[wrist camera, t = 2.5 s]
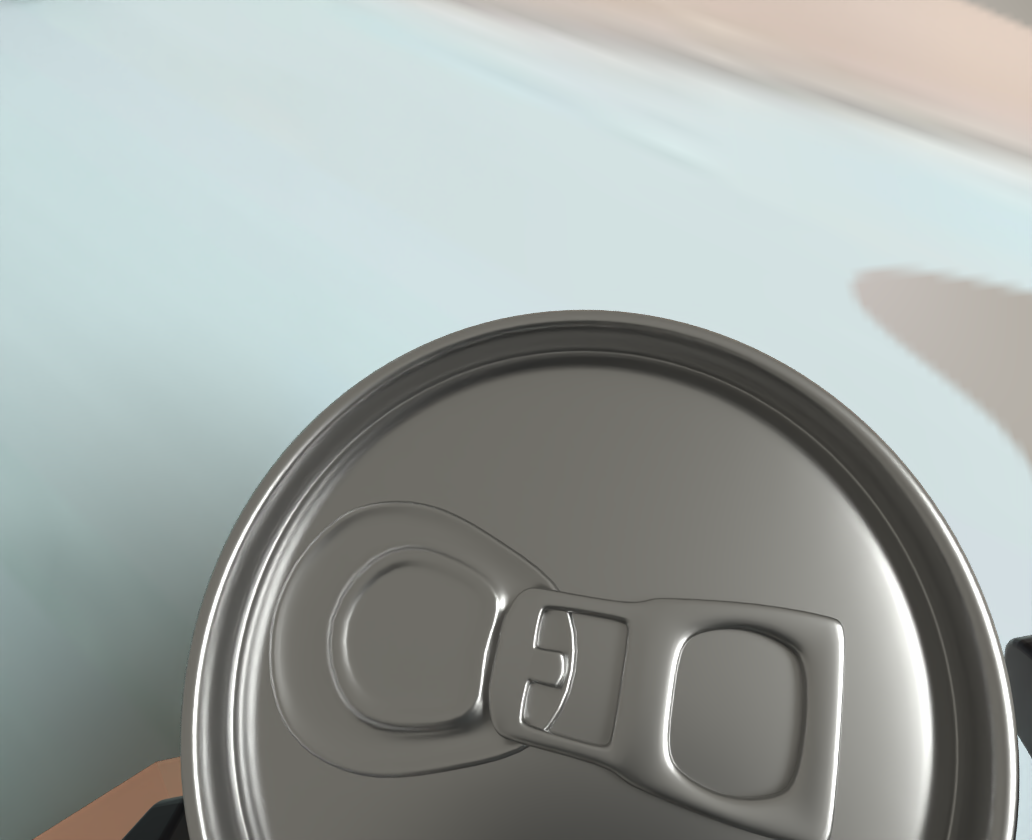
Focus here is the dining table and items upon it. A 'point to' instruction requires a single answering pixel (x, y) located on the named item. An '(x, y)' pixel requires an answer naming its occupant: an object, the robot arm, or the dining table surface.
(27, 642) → the dining table surface
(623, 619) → the can
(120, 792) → the peach block
